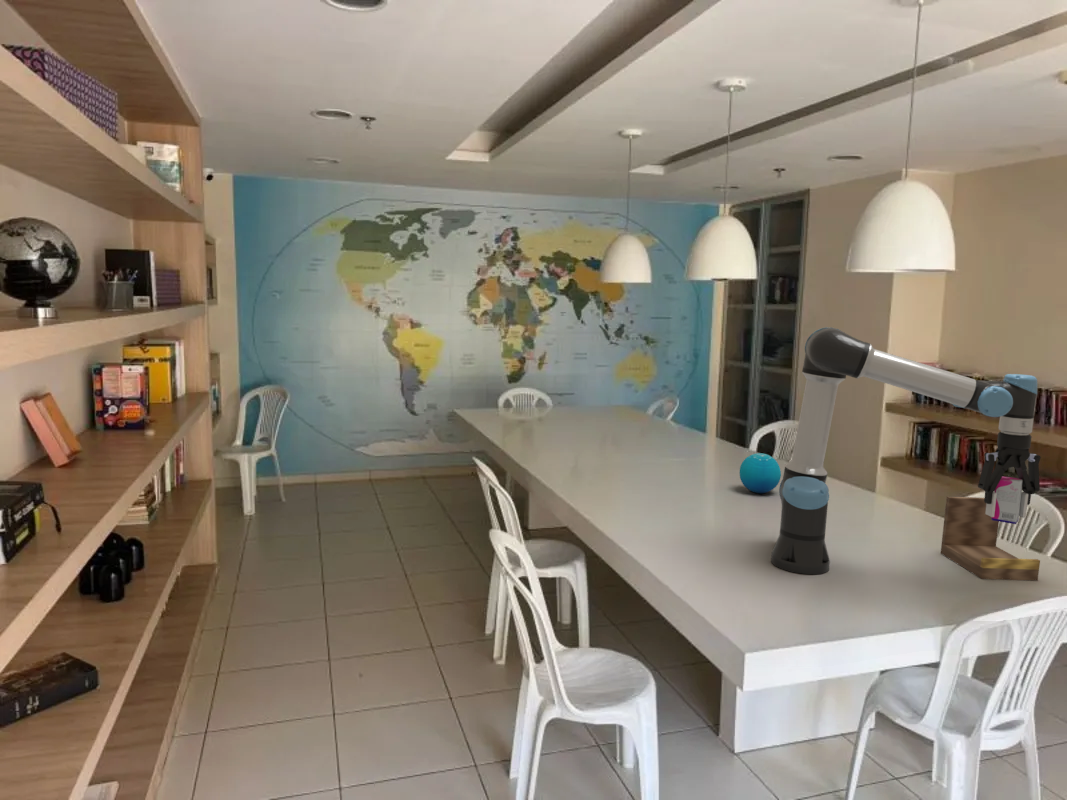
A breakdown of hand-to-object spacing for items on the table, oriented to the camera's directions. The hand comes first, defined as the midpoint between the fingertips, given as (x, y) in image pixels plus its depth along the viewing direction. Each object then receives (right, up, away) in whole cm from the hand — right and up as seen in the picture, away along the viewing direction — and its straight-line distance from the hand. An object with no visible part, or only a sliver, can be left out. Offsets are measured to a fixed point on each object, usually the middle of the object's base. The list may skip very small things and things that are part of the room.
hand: (1005, 515), depth 200 cm
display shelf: (-1, -15, +7) cm, 17 cm away
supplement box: (0, -1, 0) cm, 1 cm away
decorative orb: (-42, -4, +80) cm, 91 cm away
